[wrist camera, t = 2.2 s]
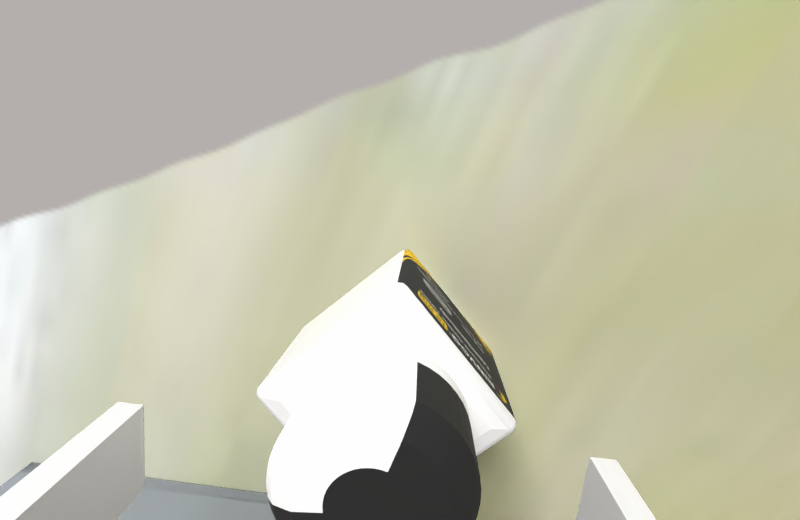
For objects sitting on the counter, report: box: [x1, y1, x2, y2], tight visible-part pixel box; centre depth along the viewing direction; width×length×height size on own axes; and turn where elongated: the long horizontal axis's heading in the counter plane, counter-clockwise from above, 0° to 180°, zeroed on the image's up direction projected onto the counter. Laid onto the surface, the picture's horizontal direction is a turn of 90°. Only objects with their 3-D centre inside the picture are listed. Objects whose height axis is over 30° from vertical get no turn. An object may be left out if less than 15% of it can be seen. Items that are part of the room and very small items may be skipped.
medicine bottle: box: [257, 250, 516, 520], centre depth 18 cm, size 7×7×12 cm
